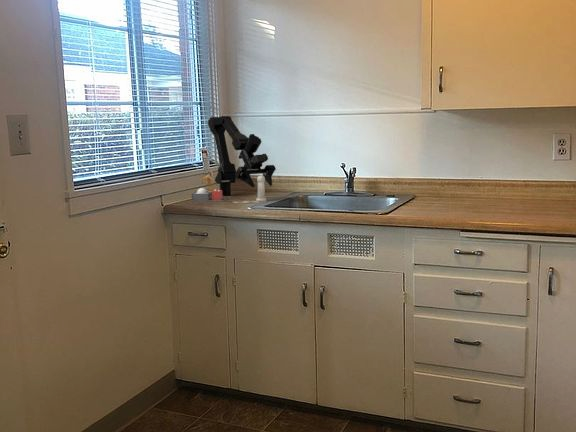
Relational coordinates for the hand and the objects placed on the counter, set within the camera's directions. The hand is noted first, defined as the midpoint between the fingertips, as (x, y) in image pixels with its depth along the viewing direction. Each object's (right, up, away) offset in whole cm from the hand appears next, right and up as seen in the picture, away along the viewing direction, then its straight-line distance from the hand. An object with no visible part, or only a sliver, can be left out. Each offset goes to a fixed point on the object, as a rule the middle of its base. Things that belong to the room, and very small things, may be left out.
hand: (262, 186), depth 284 cm
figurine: (-25, -6, +16) cm, 31 cm away
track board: (-5, -8, 0) cm, 10 cm away
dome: (-28, -5, +5) cm, 29 cm away
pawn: (-1, -7, +2) cm, 7 cm away
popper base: (-24, -7, +5) cm, 26 cm away
